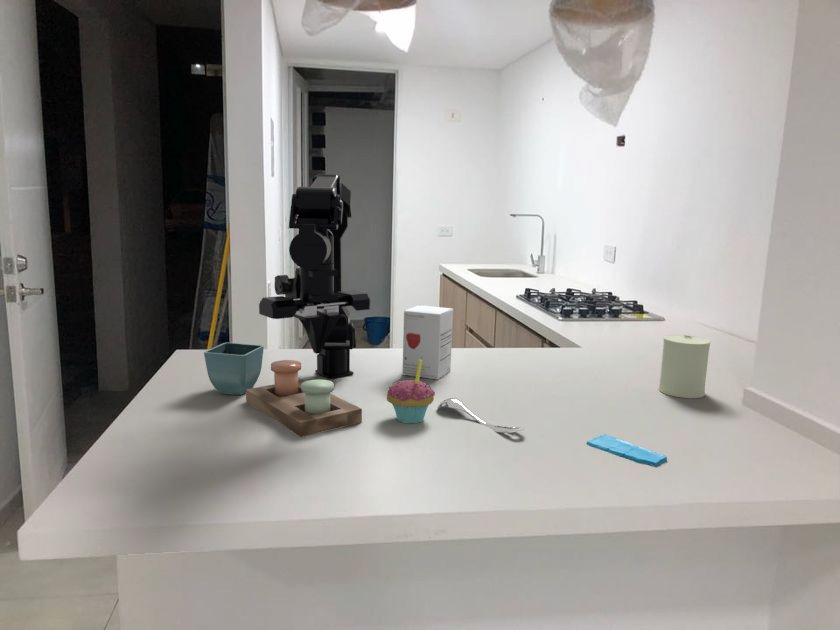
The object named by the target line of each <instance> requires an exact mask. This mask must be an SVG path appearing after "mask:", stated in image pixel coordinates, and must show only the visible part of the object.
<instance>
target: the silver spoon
mask: <svg viewBox="0 0 840 630" xmlns="http://www.w3.org/2000/svg"><path fill="white" fill-rule="evenodd" d="M444 408H450V409H455V410H459V411H461V412H464V413H466V414H467V415H469V416H471V417H472V418H473V419H474V420H475V421H476V422H478V423H479V424H480V425H481V426H485V427H487V428H489V429H491V430H492V431H493V432H496V433H501V434H503V433H504V434H510V433H511V434H512V433H518V432H522V431H525V430H526V427H525V426H507V425H506V426H503V425H496V424H491V423H489V422H487V421H485V420H483V419H482V418H480V417H479V416H477V415H476V414H475V413H474V412H472V411H471V410H470V409H469V407H468V406H467V404H466V403H465V402H464V401H462V399H460V398H458V397H449V398H445V399H444V400H443V401H441V402H440V403H439V404H438V406H437V409H438V410H441V409H444Z"/></svg>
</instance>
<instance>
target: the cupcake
mask: <svg viewBox="0 0 840 630" xmlns="http://www.w3.org/2000/svg"><path fill="white" fill-rule="evenodd" d="M422 357H423V356H421V359H420V360H419V362H418V368H417V373H416V376H415V378H414V379H411V380H410V379H407V380H405V379H404V380H399V381H396V382H395V383H393V384H392V385H390V386H389V387H388V389H387V393H386V401H387V402H388V403H390V404H391V405H392V408H393V409H394V411H395V416H396V418H397V421H399V422H401V423H405V424H417V423H420V422H422V421H423V420H424V419H425V415H426V412H427V410H428V407H429V406H430V405H432V403H433V402H434V398H435V397H434V396H436V395H435V394H436V392H435V390H433V389H432V388H431V386H430V385H428V383H426V382H424V381H421V380H420V378H421V377H420V372H421V366H422Z"/></svg>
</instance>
